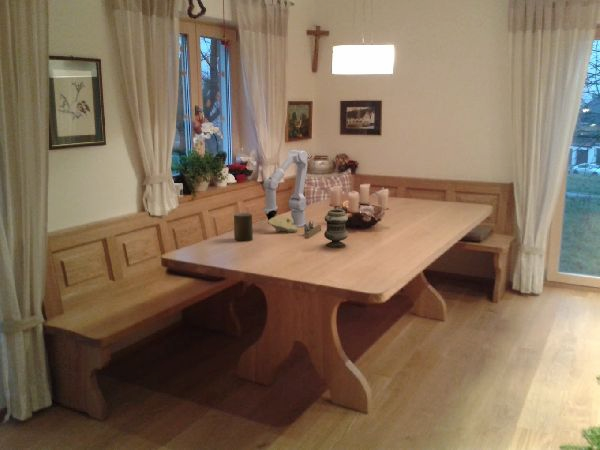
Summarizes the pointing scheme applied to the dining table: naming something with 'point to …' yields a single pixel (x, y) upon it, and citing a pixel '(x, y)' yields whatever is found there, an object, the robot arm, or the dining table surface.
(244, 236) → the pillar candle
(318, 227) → the brown piece
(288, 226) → the cheese
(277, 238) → the dining table surface
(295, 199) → the robot arm
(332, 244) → the apothecary jar
